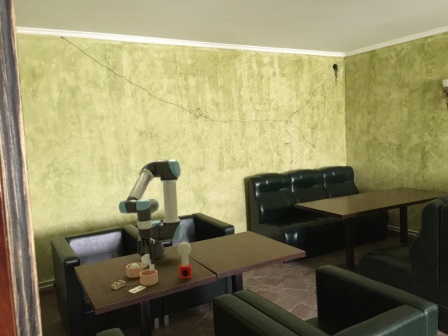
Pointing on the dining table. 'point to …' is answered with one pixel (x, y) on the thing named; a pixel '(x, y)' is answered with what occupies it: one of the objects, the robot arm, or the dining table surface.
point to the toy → (184, 260)
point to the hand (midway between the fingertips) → (148, 268)
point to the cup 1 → (134, 270)
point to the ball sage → (134, 266)
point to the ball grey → (145, 259)
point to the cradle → (118, 284)
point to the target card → (137, 289)
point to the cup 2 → (148, 277)
